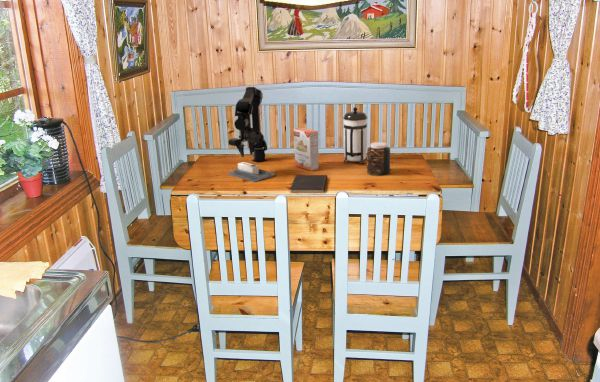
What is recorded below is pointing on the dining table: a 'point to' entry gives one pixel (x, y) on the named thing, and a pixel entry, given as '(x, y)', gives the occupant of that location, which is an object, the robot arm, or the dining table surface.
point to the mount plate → (251, 175)
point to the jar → (378, 159)
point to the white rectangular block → (248, 167)
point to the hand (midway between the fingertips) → (247, 155)
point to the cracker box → (306, 148)
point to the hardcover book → (309, 184)
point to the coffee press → (355, 136)
